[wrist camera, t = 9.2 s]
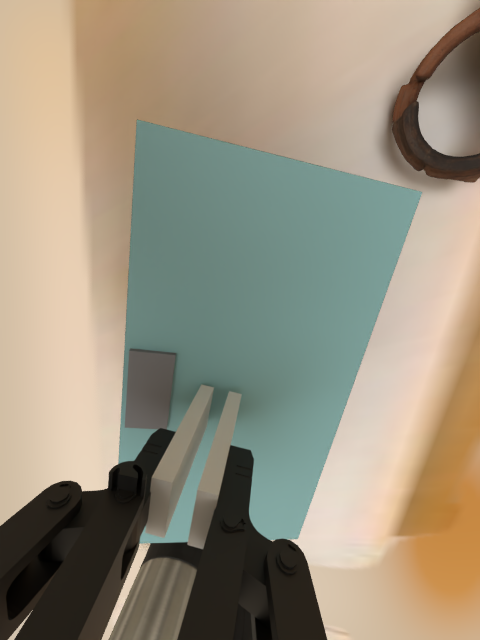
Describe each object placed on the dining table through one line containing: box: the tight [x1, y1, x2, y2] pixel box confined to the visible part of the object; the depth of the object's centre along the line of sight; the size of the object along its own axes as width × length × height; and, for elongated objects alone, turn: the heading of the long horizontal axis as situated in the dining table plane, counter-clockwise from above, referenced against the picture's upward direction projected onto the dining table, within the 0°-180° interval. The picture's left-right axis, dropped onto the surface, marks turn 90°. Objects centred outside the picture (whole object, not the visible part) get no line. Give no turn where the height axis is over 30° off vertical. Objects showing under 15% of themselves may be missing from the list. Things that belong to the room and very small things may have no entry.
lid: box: [118, 120, 422, 543], centre depth 17 cm, size 26×14×2 cm, turn 170°
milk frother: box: [109, 542, 253, 640], centre depth 27 cm, size 14×16×15 cm
